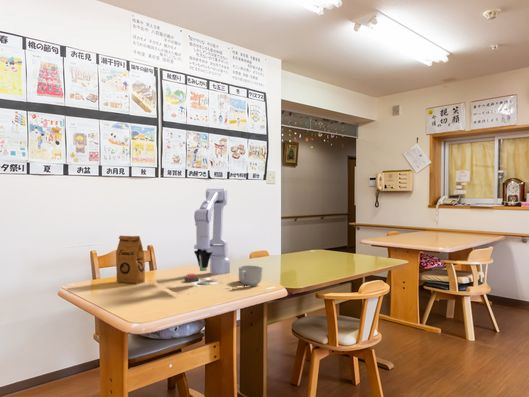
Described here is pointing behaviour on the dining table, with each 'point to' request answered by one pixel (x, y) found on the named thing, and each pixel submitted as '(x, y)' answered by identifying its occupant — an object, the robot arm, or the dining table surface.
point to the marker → (201, 265)
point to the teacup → (250, 275)
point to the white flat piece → (202, 281)
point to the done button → (191, 276)
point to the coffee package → (130, 260)
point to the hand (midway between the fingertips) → (203, 266)
